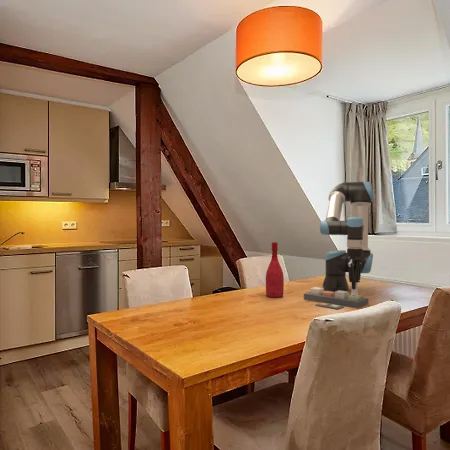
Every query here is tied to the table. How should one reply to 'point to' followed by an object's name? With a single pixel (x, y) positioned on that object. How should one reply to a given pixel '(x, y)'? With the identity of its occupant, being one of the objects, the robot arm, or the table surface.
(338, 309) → the placard
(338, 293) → the key beige
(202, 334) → the table surface
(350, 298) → the key sage
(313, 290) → the key ivory
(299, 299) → the table surface
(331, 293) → the key terracotta
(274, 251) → the wine bottle
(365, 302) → the keypad
